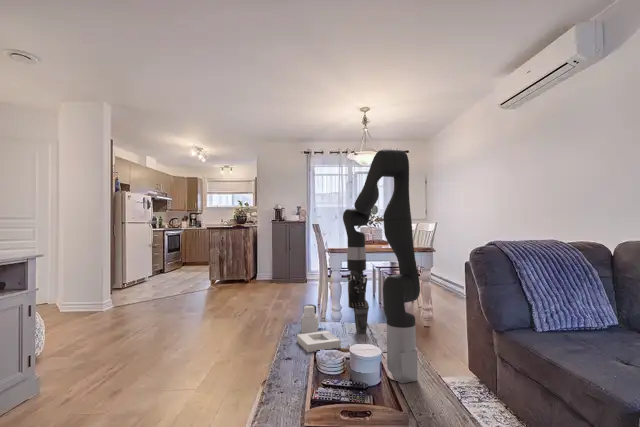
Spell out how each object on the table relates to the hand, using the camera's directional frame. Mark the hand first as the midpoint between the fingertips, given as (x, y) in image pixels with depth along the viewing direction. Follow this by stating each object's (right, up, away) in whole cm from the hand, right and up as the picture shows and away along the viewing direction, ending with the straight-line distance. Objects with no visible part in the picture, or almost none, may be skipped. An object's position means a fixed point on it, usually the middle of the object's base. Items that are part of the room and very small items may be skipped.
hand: (357, 300), depth 149 cm
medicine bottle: (-20, -20, +23) cm, 36 cm away
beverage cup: (+4, -20, +20) cm, 29 cm away
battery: (0, -3, 0) cm, 3 cm away
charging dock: (-16, -19, +4) cm, 25 cm away
